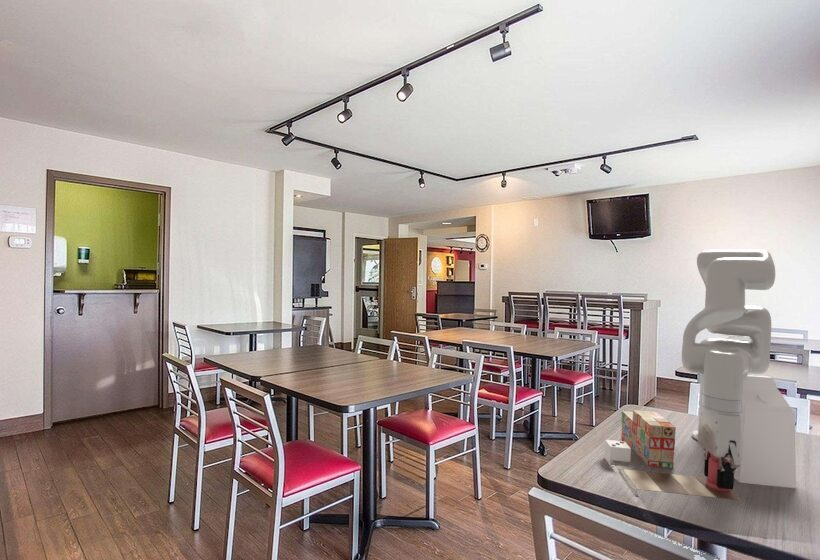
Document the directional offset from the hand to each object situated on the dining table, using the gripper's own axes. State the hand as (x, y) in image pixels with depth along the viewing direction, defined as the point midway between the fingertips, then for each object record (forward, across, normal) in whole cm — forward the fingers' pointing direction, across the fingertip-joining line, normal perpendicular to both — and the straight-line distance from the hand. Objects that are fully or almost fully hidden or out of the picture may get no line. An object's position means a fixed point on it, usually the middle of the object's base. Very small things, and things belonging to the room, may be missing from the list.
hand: (718, 481), depth 102 cm
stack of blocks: (+3, -20, -9) cm, 22 cm away
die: (+3, -13, -18) cm, 23 cm away
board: (+3, 0, -8) cm, 9 cm away
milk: (+3, -10, +13) cm, 16 cm away
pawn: (+1, 0, 0) cm, 1 cm away
